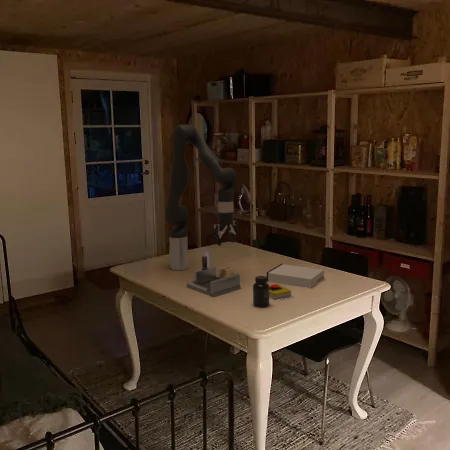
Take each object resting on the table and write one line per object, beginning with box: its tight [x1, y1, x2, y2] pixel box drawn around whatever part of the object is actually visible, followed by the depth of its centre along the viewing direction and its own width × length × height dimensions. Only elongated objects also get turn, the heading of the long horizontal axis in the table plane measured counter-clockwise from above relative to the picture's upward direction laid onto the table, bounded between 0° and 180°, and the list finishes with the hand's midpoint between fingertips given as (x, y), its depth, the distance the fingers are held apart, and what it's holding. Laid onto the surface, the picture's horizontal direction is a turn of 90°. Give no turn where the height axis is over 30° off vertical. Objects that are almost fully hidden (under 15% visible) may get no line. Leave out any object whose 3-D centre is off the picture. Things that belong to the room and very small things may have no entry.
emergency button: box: [269, 283, 295, 302], centre depth 226 cm, size 9×4×15 cm
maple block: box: [219, 266, 235, 278], centre depth 247 cm, size 5×5×6 cm
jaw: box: [193, 255, 217, 284], centre depth 240 cm, size 2×12×12 cm, turn 132°
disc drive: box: [266, 263, 325, 289], centre depth 246 cm, size 18×22×5 cm
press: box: [186, 273, 242, 298], centre depth 236 cm, size 20×16×6 cm
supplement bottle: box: [252, 275, 270, 308], centre depth 213 cm, size 7×7×12 cm
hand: (225, 243), depth 244 cm, fingers open, 8 cm apart
